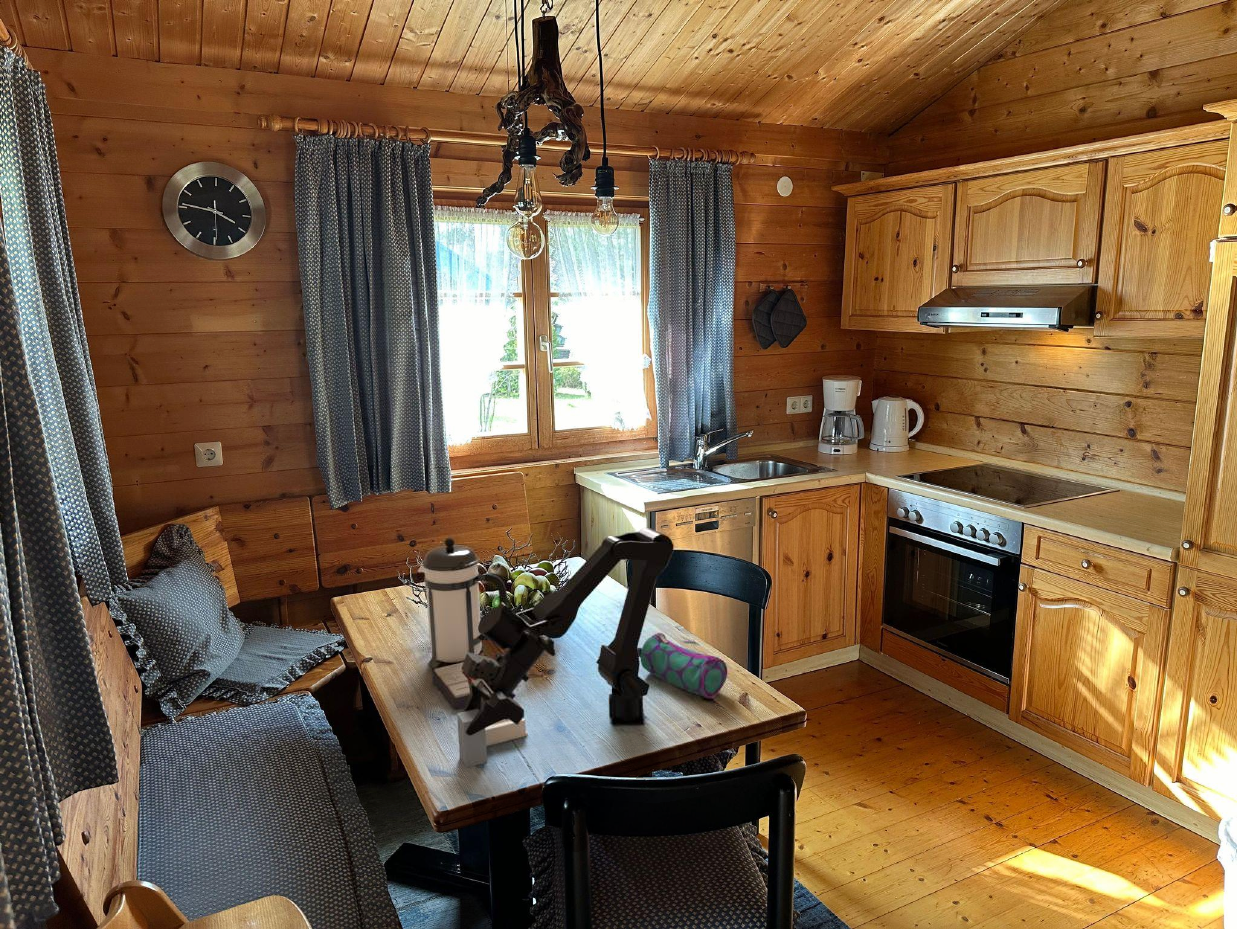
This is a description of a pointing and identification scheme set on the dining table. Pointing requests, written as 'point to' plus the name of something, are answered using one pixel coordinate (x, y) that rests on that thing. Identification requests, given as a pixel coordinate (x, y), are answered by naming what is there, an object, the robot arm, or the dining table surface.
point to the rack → (504, 731)
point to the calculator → (452, 684)
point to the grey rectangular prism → (471, 740)
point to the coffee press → (454, 601)
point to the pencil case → (683, 666)
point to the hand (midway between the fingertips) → (464, 729)
